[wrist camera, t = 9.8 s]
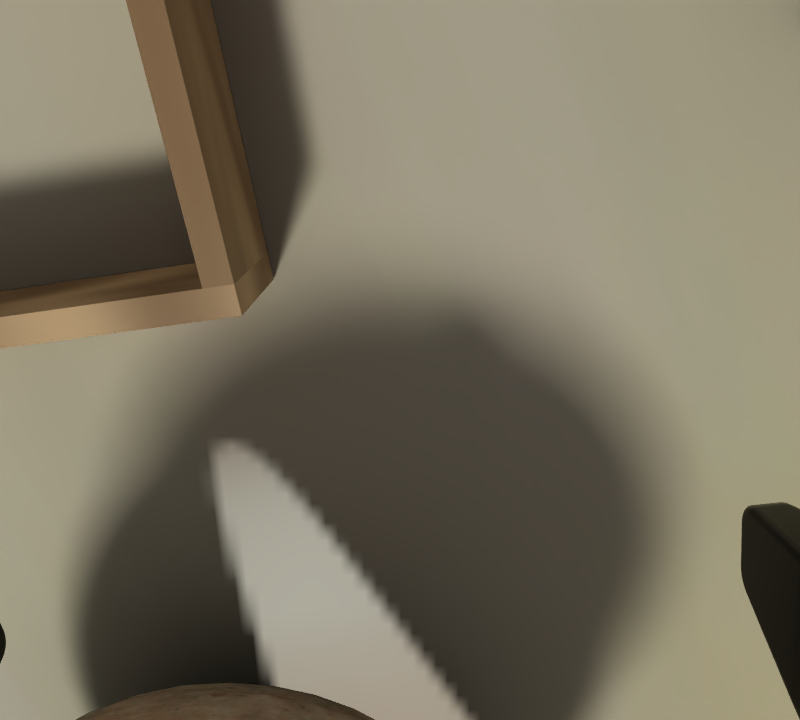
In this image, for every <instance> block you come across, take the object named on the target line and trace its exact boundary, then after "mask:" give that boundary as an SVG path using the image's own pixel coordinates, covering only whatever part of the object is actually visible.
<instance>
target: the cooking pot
mask: <svg viewBox="0 0 800 720" xmlns="http://www.w3.org/2000/svg"><path fill="white" fill-rule="evenodd" d="M76 720H374V719H372V718H371V717H369V716H367V715H365V714H363V713H361V712H359V711H357V710H355V709H353V708H350V707H347V706H345V705H342V704H339V703H336V702H333V701H331V700H328V699H325V698H322V697H319V696H316V695H313V694H308V693H303V692H299V691H294V690H290V689H285V688H280V687H276V686H267V685H255V684H242V683H215V684H197V685H183V686H178V687H173V688H168V689H163V690H158V691H153V692H148V693H143V694H139V695H135V696H132V697H129V698H126V699H124V700H121V701H119V702H116V703H113V704H111V705H108V706H106V707H103V708H100V709H98V710H95V711H92V712H90V713H88V714H86V715H84V716H82V717H80V718H78V719H76Z"/></svg>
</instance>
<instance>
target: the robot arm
mask: <svg viewBox="0 0 800 720" xmlns="http://www.w3.org/2000/svg"><path fill="white" fill-rule="evenodd" d="M741 573H742V579H743V583H744V587H745V590H746V593H747V595H748V598H749V600H750V602H751V605H752V607H753V610H754V612H755V614H756V617H757V619H758V622H759V624H760V626H761V629H762V631H763V634H764V636H765V638H766V641H767V643H768V646H769V648H770V650H771V653H772V655H773V658H774V660H775V662H776V665H777V667H778V670H779V672H780V674H781V677H782V679H783V682H784V684H785V686H786V689H787V691H788V694H789V696H790V698H791V701H792V703H793V705H794V708H795V710H796V712H797V714H798V717H799V719H800V509H799V508H797V507H795V506H792V505H790V504H788V503H783V502H779V503H769V504H760V505H751V506H748V507H747V508H746V509H745V510H744V513H743V516H742V544H741ZM5 647H6V638H5V633H4V630H3V628H2V626H1V624H0V663H1V660H2V658H3V655H4V652H5Z"/></svg>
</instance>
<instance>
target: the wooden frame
mask: <svg viewBox="0 0 800 720" xmlns="http://www.w3.org/2000/svg"><path fill="white" fill-rule="evenodd" d="M126 2H127V6H128V10H129V13H130V17H131V21H132V25H133V29H134V32H135V36H136V40H137V44H138V47H139V51H140V55H141V59H142V63H143V66H144V70H145V74H146V78H147V81H148V85H149V89H150V93H151V96H152V100H153V104H154V108H155V112H156V115H157V119H158V123H159V127H160V130H161V134H162V138H163V142H164V146H165V149H166V153H167V157H168V161H169V164H170V168H171V172H172V176H173V180H174V183H175V187H176V191H177V195H178V198H179V202H180V206H181V210H182V214H183V217H184V221H185V225H186V229H187V232H188V236H189V240H190V244H191V248H192V251H193V255H194V259H195V263H191V264H184V265H177V266H170V267H164V268H157V269H150V270H143V271H136V272H129V273H122V274H115V275H109V276H102V277H95V278H88V279H81V280H74V281H67V282H60V283H54V284H47V285H40V286H33V287H26V288H19V289H12V290H5V291H0V348H7V347H15V346H22V345H29V344H37V343H44V342H51V341H59V340H66V339H73V338H81V337H88V336H95V335H103V334H110V333H117V332H125V331H132V330H139V329H147V328H154V327H161V326H169V325H176V324H183V323H191V322H198V321H206V320H213V319H220V318H228V317H235V316H242V315H243V314H244V312H245V311H246V310H247V309H248V308H249V307H250V306H251V304H252V303H253V302H254V301H255V300H256V299H257V298H258V296H259V295H260V294H261V293H262V292H263V291H264V290H265V288H266V287H267V286H268V285H269V284H270V283H271V282H272V280H273V274H272V270H271V266H270V261H269V257H268V252H267V248H266V243H265V239H264V235H263V230H262V226H261V221H260V217H259V212H258V208H257V204H256V199H255V195H254V190H253V186H252V181H251V177H250V173H249V168H248V164H247V159H246V155H245V150H244V146H243V142H242V137H241V133H240V128H239V124H238V120H237V115H236V111H235V106H234V102H233V97H232V93H231V89H230V84H229V80H228V75H227V71H226V66H225V62H224V58H223V53H222V49H221V44H220V40H219V35H218V31H217V27H216V22H215V18H214V13H213V9H212V5H211V0H126Z"/></svg>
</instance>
